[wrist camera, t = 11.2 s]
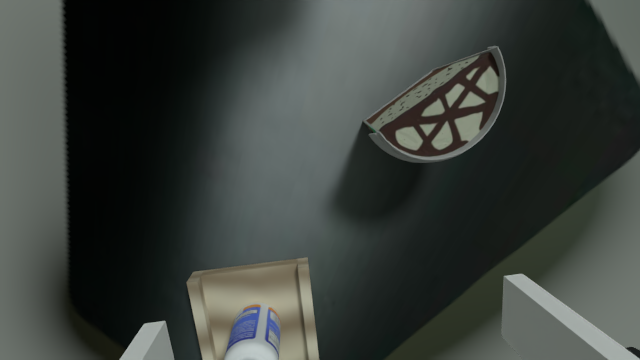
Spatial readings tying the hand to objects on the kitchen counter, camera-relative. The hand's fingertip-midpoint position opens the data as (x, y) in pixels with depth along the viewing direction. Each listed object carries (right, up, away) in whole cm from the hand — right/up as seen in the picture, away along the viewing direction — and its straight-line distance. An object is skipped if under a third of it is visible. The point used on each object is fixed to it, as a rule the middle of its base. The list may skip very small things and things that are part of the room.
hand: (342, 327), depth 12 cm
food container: (+9, +13, +23) cm, 28 cm away
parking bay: (-8, -11, +27) cm, 30 cm away
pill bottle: (-8, -11, +26) cm, 29 cm away
